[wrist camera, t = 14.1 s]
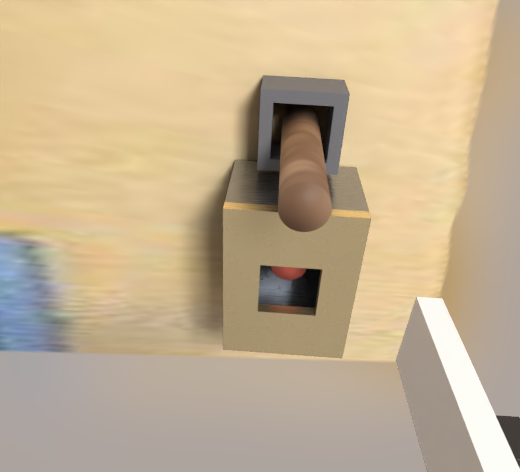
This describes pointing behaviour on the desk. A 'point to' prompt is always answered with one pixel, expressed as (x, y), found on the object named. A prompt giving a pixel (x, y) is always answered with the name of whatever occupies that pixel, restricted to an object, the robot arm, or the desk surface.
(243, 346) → the hollow box
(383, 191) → the desk surface
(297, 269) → the pink rubber ball
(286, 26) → the desk surface
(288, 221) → the brown rounded rod
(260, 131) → the holder
